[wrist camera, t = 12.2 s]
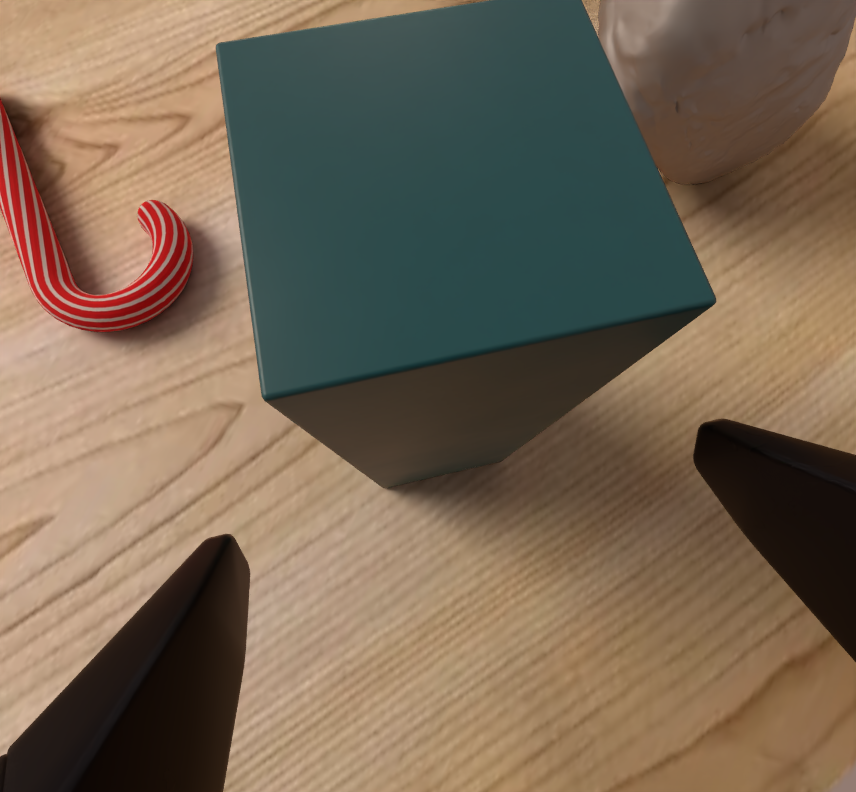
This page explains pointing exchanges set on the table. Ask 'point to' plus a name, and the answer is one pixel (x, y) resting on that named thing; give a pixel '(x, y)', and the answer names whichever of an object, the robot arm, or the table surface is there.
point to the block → (447, 229)
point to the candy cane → (48, 269)
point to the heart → (722, 74)
